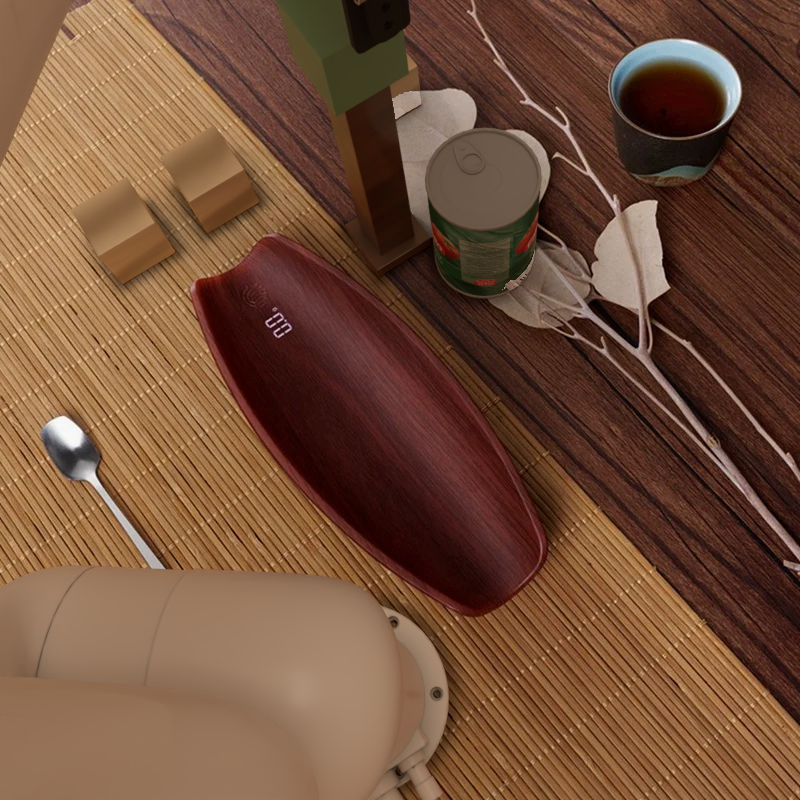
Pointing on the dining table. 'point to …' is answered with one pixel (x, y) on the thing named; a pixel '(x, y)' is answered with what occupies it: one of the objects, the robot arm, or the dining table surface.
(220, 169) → the line block
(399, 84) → the line block
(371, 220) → the stand
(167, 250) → the line block
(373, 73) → the green block
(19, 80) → the robot arm
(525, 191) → the canned tomato
